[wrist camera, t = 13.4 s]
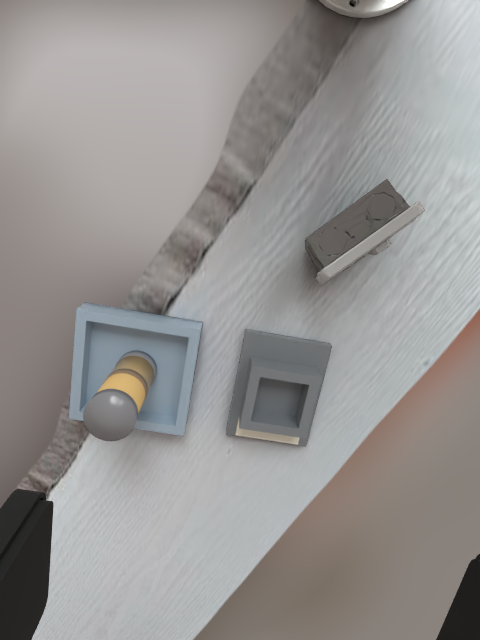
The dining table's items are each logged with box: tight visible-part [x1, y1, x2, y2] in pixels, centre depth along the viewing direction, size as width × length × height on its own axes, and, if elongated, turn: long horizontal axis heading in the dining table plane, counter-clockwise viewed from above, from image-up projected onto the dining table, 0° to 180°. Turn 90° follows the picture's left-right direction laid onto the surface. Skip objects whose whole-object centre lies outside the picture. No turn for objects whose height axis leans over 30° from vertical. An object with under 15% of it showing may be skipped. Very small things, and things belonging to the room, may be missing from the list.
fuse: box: [83, 350, 157, 441], centre depth 38 cm, size 4×4×10 cm
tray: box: [69, 303, 203, 436], centre depth 42 cm, size 12×12×2 cm
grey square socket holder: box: [226, 329, 332, 446], centre depth 43 cm, size 12×9×4 cm
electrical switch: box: [305, 179, 425, 285], centre depth 36 cm, size 9×5×9 cm, turn 127°
